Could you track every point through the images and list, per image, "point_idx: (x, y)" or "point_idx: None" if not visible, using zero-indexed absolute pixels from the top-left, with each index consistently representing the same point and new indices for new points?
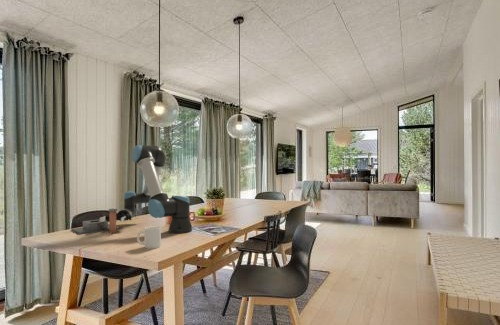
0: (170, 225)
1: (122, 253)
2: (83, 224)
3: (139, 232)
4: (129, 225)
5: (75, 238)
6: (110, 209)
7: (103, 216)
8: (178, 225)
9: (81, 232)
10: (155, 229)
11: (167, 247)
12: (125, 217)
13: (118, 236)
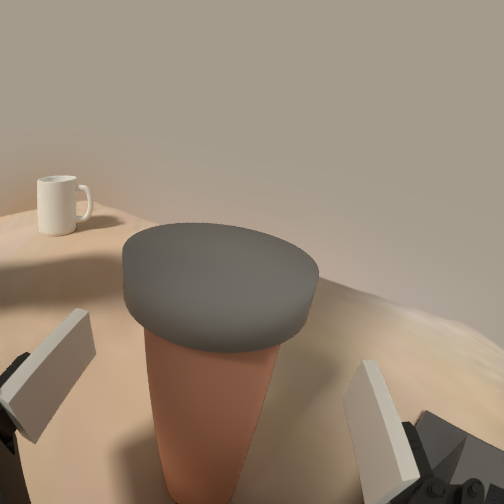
0: None
1: (130, 220)
2: None
3: (88, 188)
4: None
5: (364, 348)
6: (261, 241)
7: (434, 480)
8: None
9: (423, 414)
10: (58, 177)
11: (35, 223)
12: (14, 387)
13: (131, 349)
